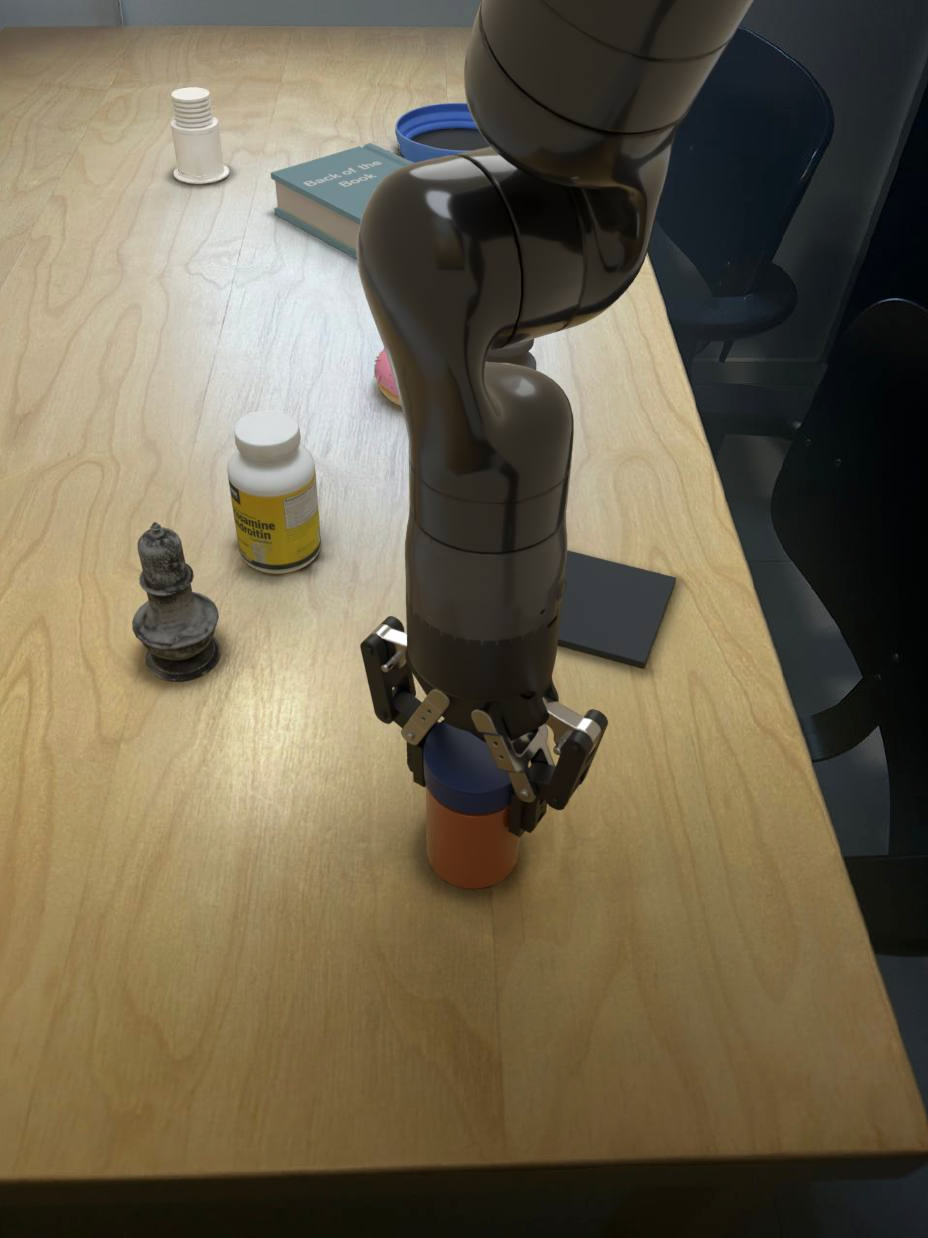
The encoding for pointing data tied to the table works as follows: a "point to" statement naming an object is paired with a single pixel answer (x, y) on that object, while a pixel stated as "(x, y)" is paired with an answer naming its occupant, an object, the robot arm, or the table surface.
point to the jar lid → (464, 772)
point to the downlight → (196, 137)
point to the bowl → (437, 132)
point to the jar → (469, 845)
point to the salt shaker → (173, 611)
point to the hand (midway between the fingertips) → (475, 799)
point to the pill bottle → (274, 493)
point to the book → (333, 192)
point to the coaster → (612, 608)
